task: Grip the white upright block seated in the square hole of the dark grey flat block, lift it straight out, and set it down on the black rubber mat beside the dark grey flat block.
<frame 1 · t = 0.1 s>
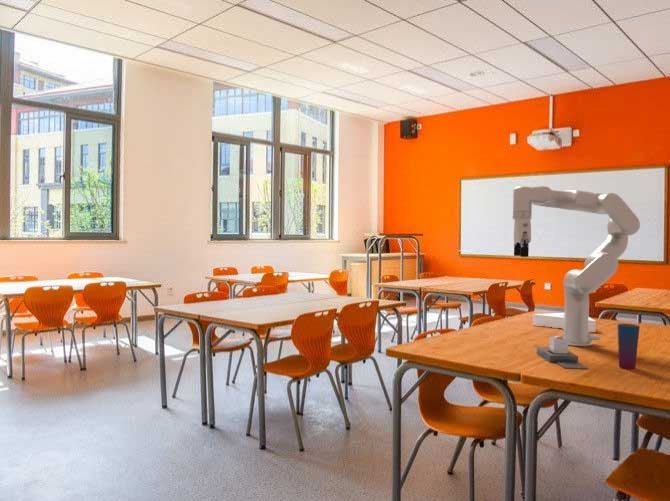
hand: (520, 256, 236), 37 cm above the table, tool pointing down, fingers open, 9 cm apart
dark grey flat block: (556, 357, 208), on the table
flat white box: (571, 327, 284), on the table
white upright block: (558, 359, 206), resting in dark grey flat block
cup: (627, 368, 195), on the table
mat: (571, 366, 195), on the table
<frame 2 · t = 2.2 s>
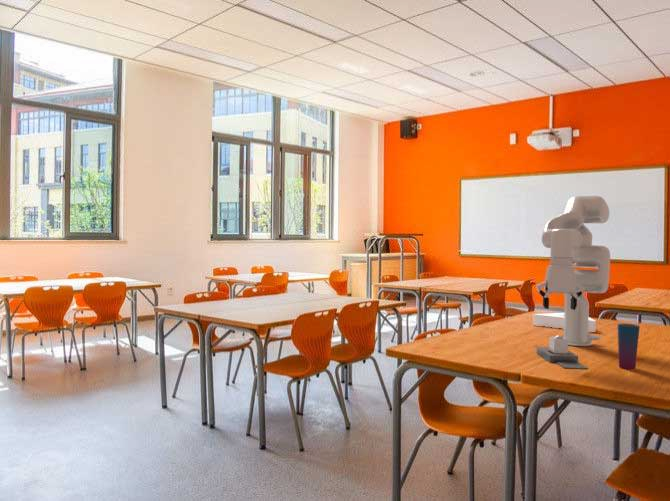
hand: (559, 308, 205), 19 cm above the table, tool pointing down, fingers open, 9 cm apart
nothing on the table moved.
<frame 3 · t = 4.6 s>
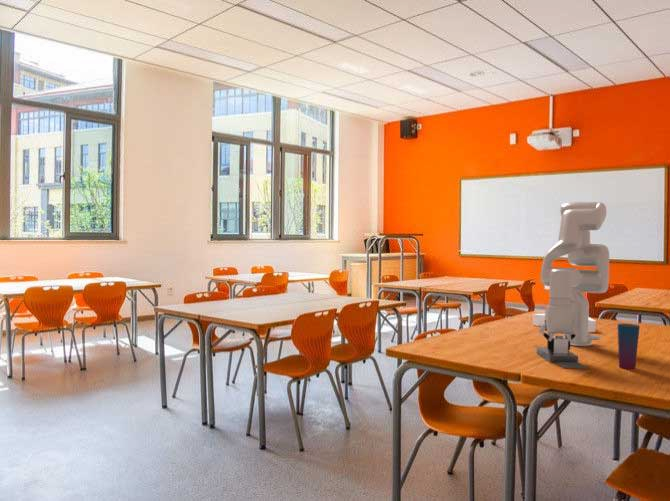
hand: (558, 350, 206), 3 cm above the table, tool pointing down, fingers closed on white upright block, 5 cm apart
white upright block: (558, 359, 206), resting in dark grey flat block, touching gripper
everything else where it was.
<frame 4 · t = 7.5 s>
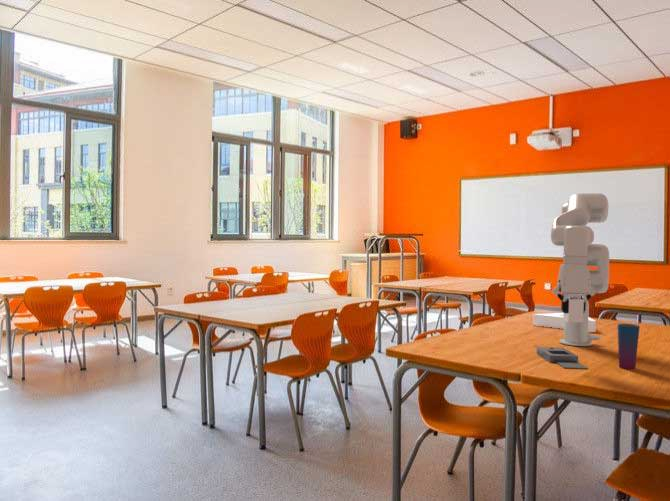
hand: (573, 312, 195), 19 cm above the table, tool pointing down, fingers closed on white upright block, 5 cm apart
white upright block: (573, 321, 195), point 16 cm above the table, touching gripper
everything else where it was.
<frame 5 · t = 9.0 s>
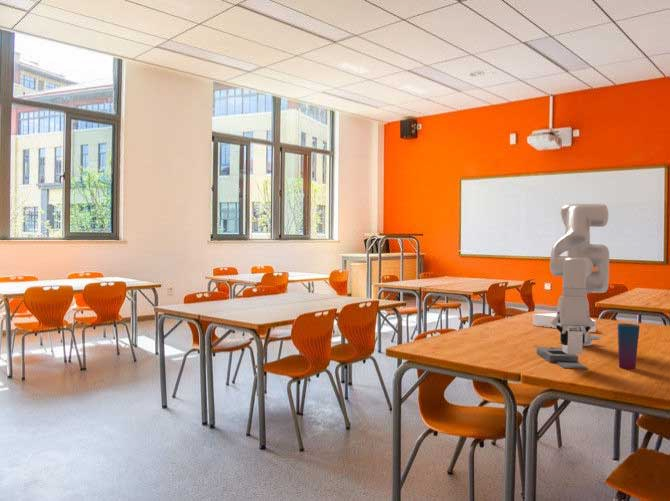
hand: (572, 344, 195), 8 cm above the table, tool pointing down, fingers closed on white upright block, 5 cm apart
white upright block: (572, 352, 195), point 5 cm above the table, touching gripper
everything else where it was.
when the fingers open (5 cm above the table, at t = 10.3 s): white upright block drops 1 cm, resting on mat.
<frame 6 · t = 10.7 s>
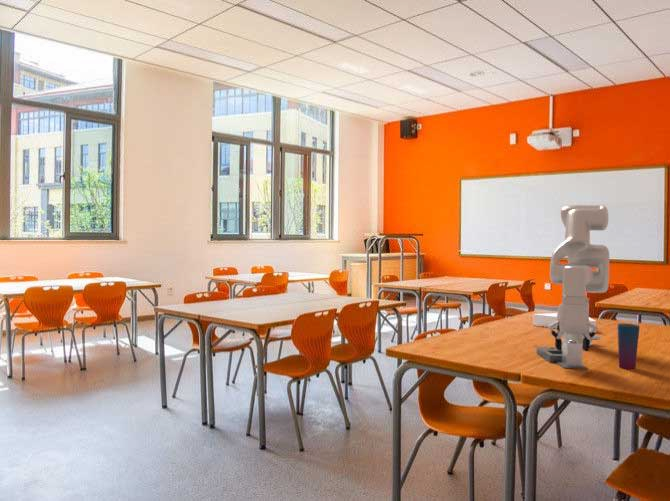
hand: (572, 350, 195), 6 cm above the table, tool pointing down, fingers open, 8 cm apart
white upright block: (571, 364, 196), resting on mat
everything else where it was.
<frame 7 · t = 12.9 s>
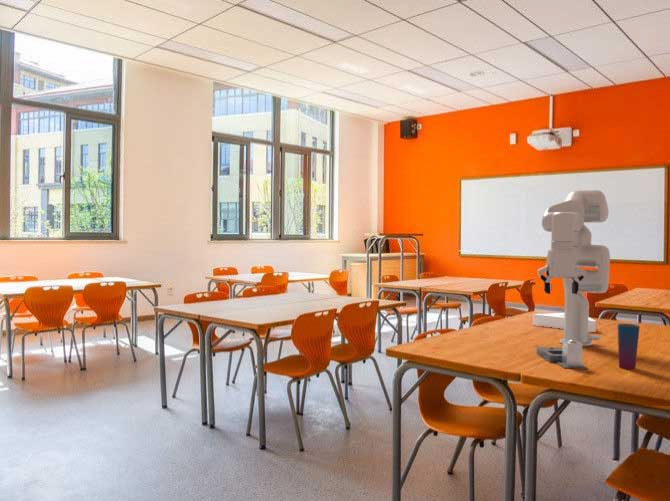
hand: (561, 293, 202), 25 cm above the table, tool pointing down, fingers open, 9 cm apart
nothing on the table moved.
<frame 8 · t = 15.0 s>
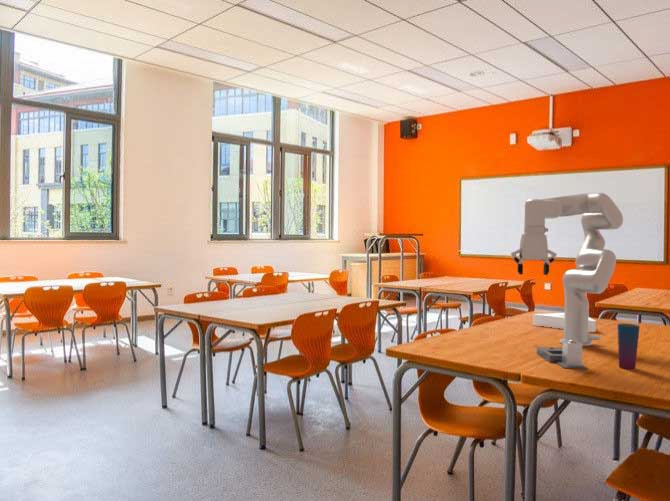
hand: (533, 274, 219), 30 cm above the table, tool pointing down, fingers open, 9 cm apart
nothing on the table moved.
at the end: white upright block 0.2 cm from the mat (horizontally); white upright block resting on mat; white upright block tilted 0° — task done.
